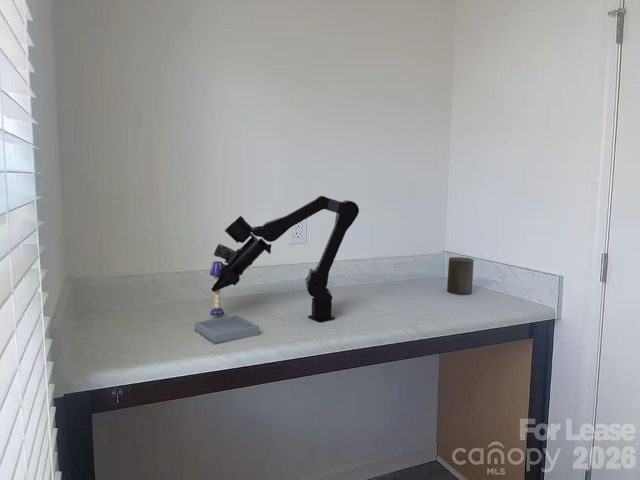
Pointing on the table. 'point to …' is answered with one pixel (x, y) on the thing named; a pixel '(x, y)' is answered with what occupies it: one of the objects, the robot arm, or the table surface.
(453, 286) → the pillar candle
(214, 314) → the toy lamp
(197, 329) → the desk tray
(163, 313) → the table surface
